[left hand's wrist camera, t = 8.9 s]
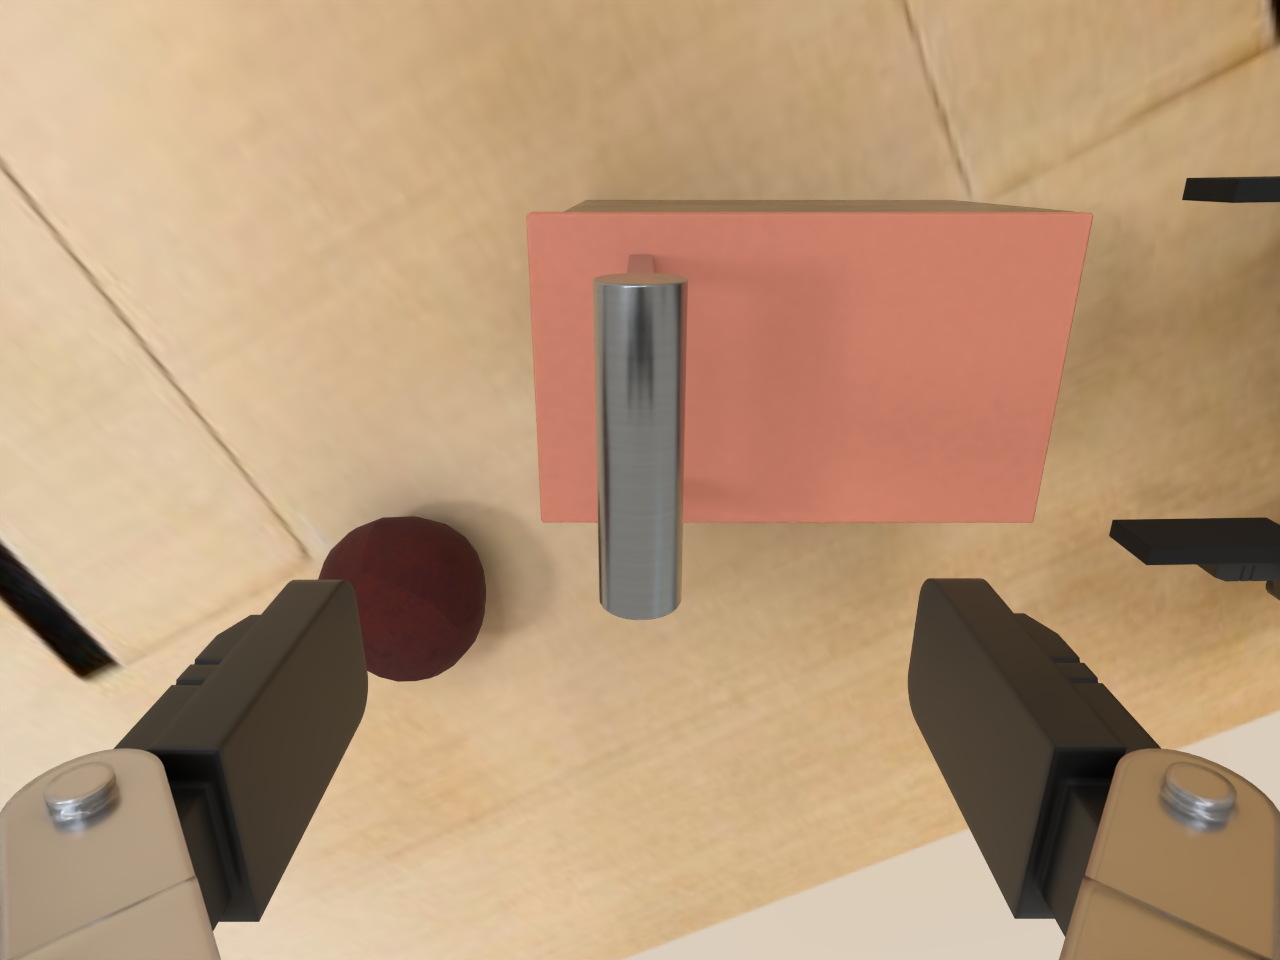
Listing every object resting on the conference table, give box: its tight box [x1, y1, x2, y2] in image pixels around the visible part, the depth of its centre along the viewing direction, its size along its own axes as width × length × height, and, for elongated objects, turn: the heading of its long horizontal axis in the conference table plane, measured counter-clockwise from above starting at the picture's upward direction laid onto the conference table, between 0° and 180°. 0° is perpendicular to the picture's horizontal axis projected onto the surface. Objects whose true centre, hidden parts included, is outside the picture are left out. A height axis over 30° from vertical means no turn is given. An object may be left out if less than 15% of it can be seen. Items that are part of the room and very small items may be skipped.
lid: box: [527, 212, 1093, 620], centre depth 22 cm, size 17×10×9 cm, turn 90°
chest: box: [564, 200, 1072, 212], centre depth 31 cm, size 16×10×10 cm, turn 90°
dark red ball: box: [318, 517, 486, 681], centre depth 37 cm, size 7×8×7 cm
